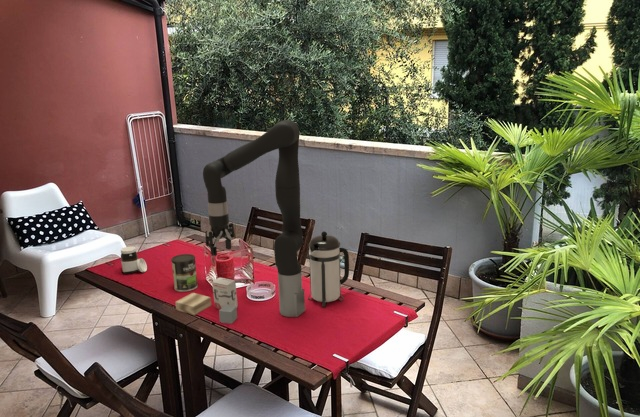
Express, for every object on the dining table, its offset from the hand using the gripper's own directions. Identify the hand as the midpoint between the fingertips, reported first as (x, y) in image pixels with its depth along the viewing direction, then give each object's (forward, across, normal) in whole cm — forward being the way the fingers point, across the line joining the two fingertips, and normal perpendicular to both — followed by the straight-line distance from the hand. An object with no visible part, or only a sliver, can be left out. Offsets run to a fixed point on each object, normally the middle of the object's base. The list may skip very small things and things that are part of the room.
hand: (221, 252), depth 202 cm
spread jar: (+24, +11, +67) cm, 72 cm away
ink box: (+24, 0, 0) cm, 24 cm away
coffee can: (+24, +8, +30) cm, 39 cm away
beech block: (+24, -6, +12) cm, 28 cm away
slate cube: (+24, -8, -8) cm, 27 cm away
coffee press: (+24, +26, -33) cm, 48 cm away
